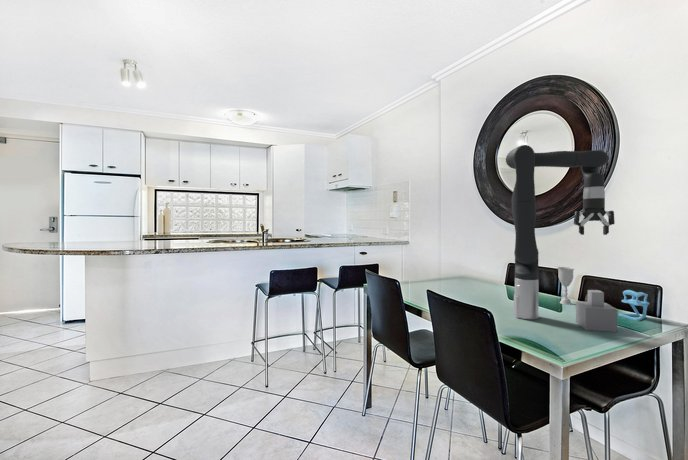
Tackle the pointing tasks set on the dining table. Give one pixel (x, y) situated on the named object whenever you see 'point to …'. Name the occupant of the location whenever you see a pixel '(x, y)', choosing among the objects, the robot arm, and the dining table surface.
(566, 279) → the chalice
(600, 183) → the robot arm
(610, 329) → the gray block
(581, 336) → the dining table surface
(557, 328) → the dining table surface
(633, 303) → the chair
